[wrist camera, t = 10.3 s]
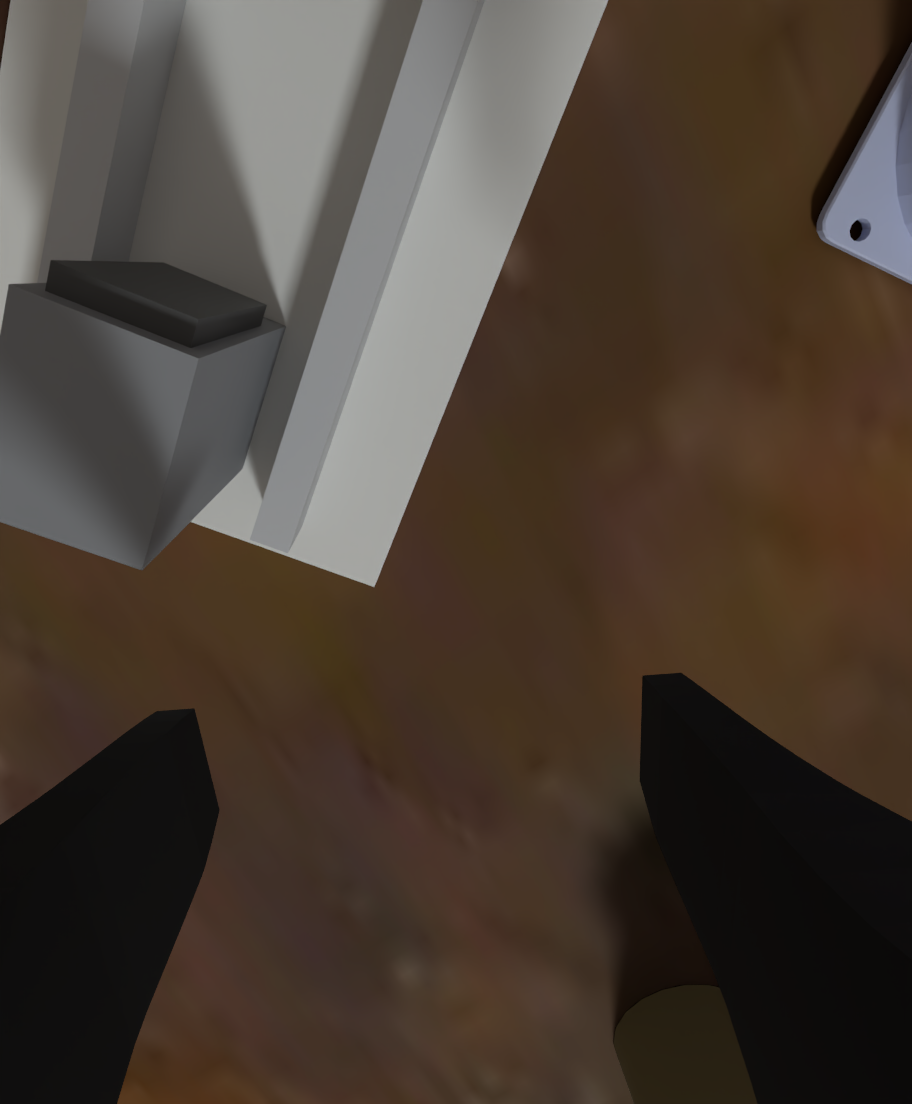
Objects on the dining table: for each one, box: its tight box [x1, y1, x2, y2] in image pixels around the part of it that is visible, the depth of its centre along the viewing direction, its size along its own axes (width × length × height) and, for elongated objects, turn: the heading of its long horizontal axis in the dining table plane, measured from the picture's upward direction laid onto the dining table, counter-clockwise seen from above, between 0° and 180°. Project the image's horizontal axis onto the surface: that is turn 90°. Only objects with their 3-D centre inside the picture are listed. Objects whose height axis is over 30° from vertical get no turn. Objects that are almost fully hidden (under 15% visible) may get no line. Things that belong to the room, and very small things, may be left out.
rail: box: [0, 0, 608, 587], centre depth 13 cm, size 12×22×8 cm, turn 158°
